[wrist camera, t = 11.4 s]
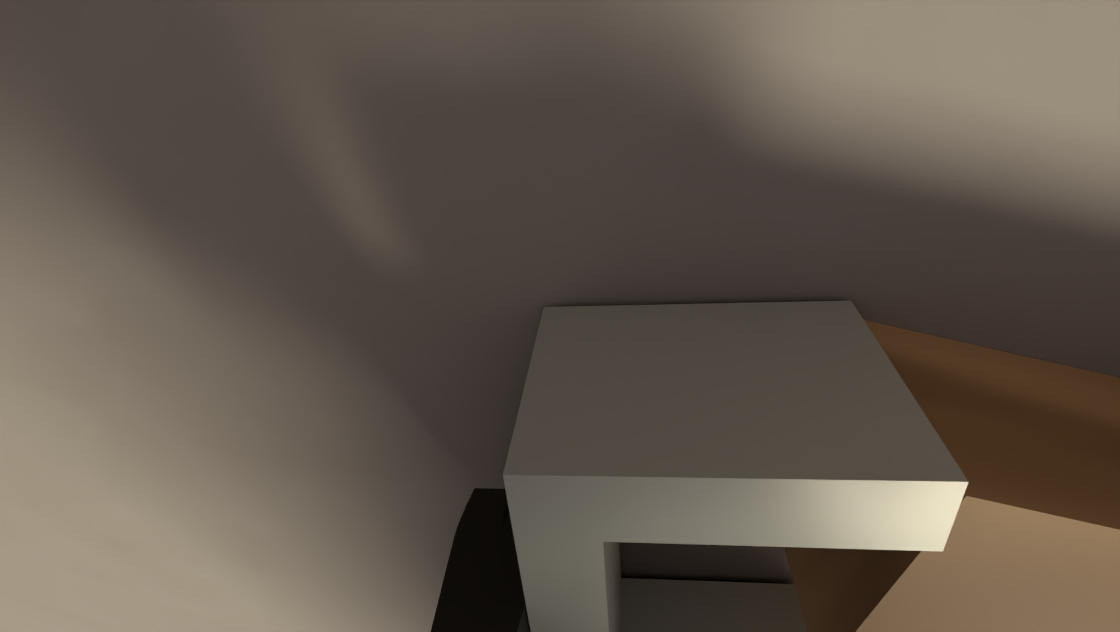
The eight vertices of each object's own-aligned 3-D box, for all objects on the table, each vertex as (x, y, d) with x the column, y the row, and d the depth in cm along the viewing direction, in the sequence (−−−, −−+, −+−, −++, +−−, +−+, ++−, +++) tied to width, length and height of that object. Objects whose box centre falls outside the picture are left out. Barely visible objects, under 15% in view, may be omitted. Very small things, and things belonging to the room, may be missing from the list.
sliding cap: (791, 614, 12) (842, 822, 9) (576, 605, 13) (560, 799, 10) (851, 300, 9) (967, 481, 6) (543, 306, 9) (502, 474, 6)
